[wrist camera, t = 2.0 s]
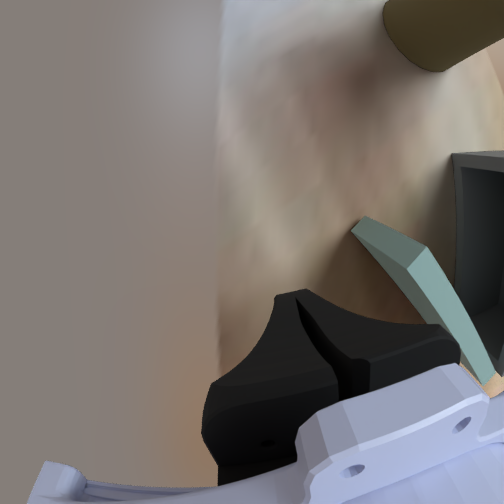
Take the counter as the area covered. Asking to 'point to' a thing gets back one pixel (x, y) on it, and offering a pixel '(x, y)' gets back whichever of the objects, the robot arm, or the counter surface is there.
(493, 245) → the cupboard
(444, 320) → the sage green bent plank
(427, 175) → the counter surface
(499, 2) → the cork
